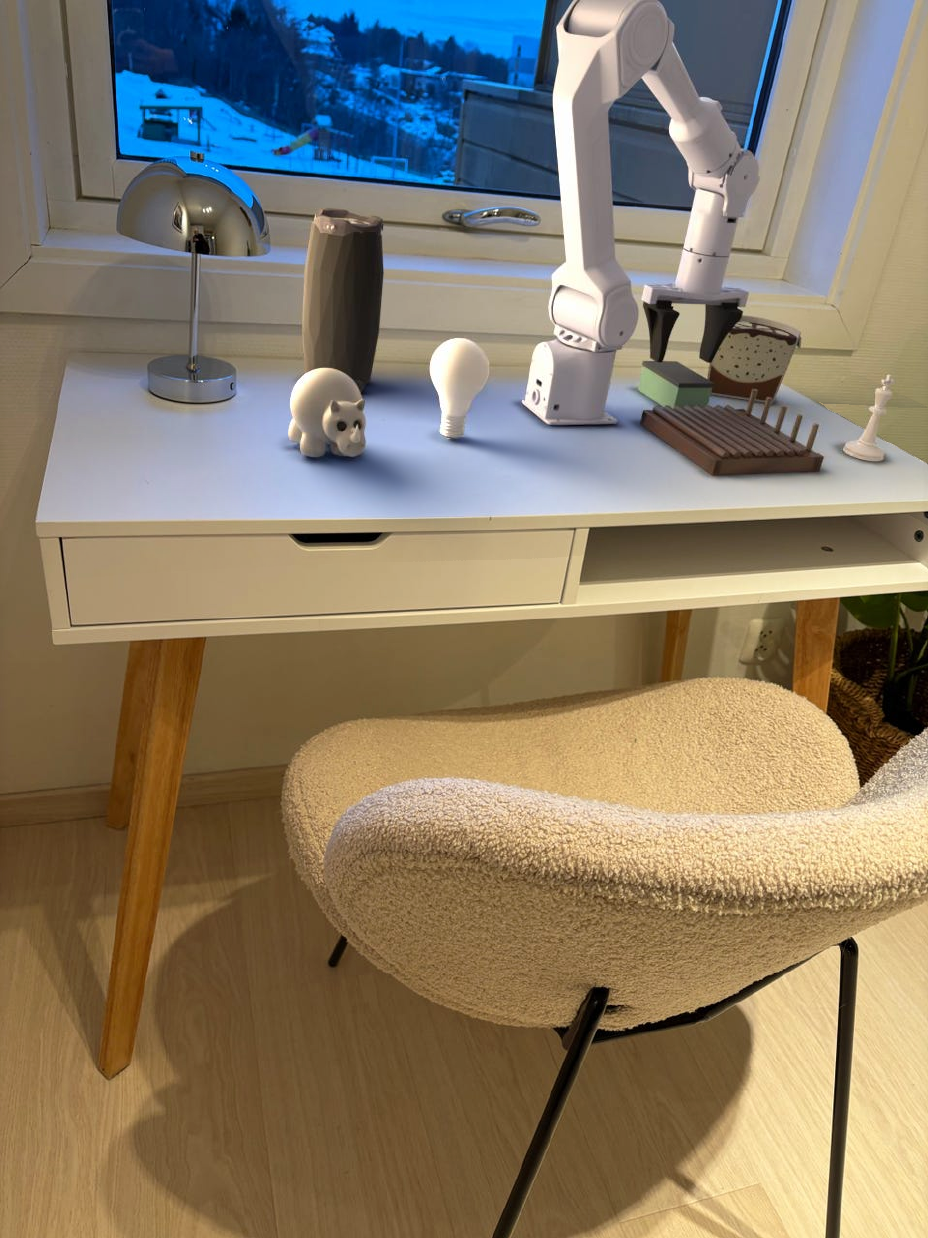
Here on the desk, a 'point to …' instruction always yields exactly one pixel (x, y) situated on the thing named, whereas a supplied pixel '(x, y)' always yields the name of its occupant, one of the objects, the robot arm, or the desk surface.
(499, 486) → the desk surface
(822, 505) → the desk surface
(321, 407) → the toy rhinoceros
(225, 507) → the desk surface
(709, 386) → the box
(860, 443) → the chess piece
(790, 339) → the food container
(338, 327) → the brown vase
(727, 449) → the dish rack
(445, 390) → the lightbulb
